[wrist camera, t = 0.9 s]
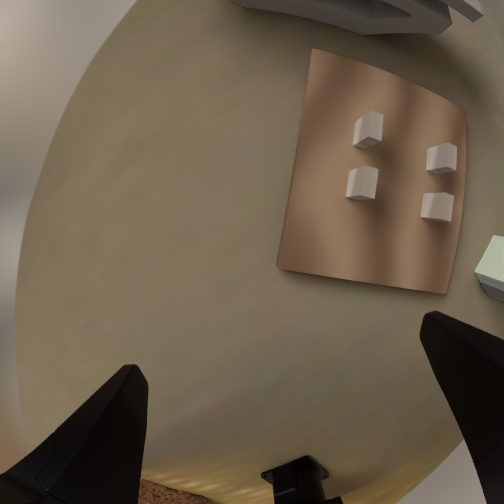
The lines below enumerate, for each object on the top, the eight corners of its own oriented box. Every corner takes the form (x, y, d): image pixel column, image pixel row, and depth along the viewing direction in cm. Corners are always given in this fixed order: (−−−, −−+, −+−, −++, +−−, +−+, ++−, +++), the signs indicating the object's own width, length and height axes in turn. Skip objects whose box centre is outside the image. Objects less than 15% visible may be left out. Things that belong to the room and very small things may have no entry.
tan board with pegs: (456, 113, 19) (484, 103, 15) (436, 289, 22) (465, 303, 18) (309, 56, 19) (320, 29, 15) (276, 264, 22) (282, 278, 17)
